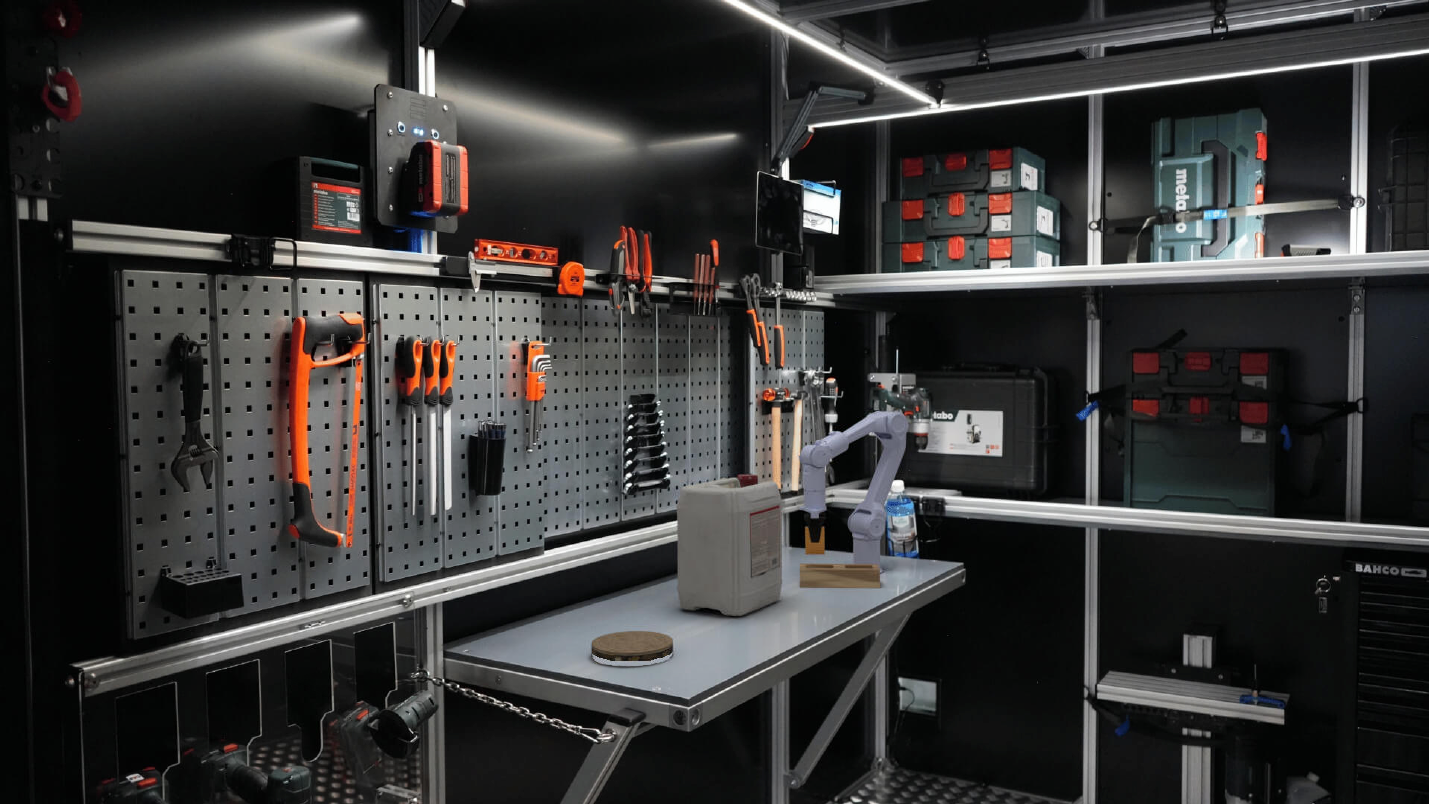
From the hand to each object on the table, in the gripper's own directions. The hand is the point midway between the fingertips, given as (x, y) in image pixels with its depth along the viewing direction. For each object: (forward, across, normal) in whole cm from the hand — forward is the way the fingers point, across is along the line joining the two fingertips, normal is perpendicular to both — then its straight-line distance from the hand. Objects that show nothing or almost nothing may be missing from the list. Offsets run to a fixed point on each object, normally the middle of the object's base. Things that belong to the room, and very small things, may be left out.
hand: (815, 541), depth 268 cm
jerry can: (+10, +34, -20) cm, 40 cm away
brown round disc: (+10, +76, -35) cm, 84 cm away
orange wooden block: (+3, 0, 0) cm, 3 cm away
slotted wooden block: (+9, +9, +6) cm, 15 cm away
